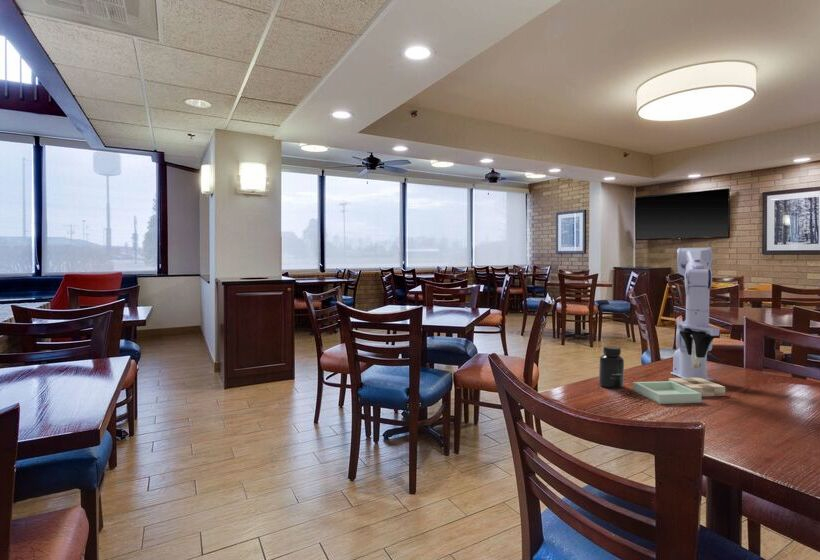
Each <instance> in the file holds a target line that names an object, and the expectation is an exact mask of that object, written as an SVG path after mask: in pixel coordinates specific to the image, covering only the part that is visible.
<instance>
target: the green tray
mask: <svg viewBox="0 0 820 560" xmlns="http://www.w3.org/2000/svg"><path fill="white" fill-rule="evenodd" d="M632 391H633V392H635V393H637V394H639V395H641V396H643V397H645V398H647V399H649V400H650V401H653V402H655V403H657V404H658V405H661V404H662V405H663V404H664V405H666V404H667V405H668V404H693V403H694V404H696V403H699V404H700V403H702V401H703V399H702V397H703V396H702V393H699V392H697V391H695V390H692V389H690V388H687V387H685V386H682V385H680V384H678V383H675V382H673V381H668V380H665V381H663V380H662V381H633V382H632Z"/></svg>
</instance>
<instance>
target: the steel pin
mask: <svg viewBox="0 0 820 560" xmlns="http://www.w3.org/2000/svg"><path fill="white" fill-rule="evenodd" d="M690 337H692V353H691V367H692V368H701V358H698V357H696V349H695V342H694V338H693V336H692V334H691V335H690Z"/></svg>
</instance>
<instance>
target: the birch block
mask: <svg viewBox="0 0 820 560" xmlns="http://www.w3.org/2000/svg"><path fill="white" fill-rule="evenodd" d="M667 381H673V382H675V383H678V384H680V385H682V386H685V387H687V388H690V389H692V390H695V391H697V392H699V393H702V397H720V396H721V397H722V396H726V386H723V385H721V384H719V383H715V382H714V381H712V380H711V381H708V380H705V379H702V378H700V377H696V378H681V377H669V378H668V380H667Z"/></svg>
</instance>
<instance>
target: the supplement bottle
mask: <svg viewBox="0 0 820 560" xmlns="http://www.w3.org/2000/svg"><path fill="white" fill-rule="evenodd" d="M602 352H603V354H602V355H601V356H599V367H598V369H599V372H598V376H599V377H598V383H599V386H601V387H603V386H604V387H603V388H606V387H608V388H607V389H611V388H620V389H622V388H623V387H624V378H625V377H624V373H625V371H624V370H625V360H624V358H623V357H622V356H621V354H622V353H621V352H622V350H621V347H619V346H612V345H611V346H608V345H607V346H606V345H605V346H603V351H602Z"/></svg>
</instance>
